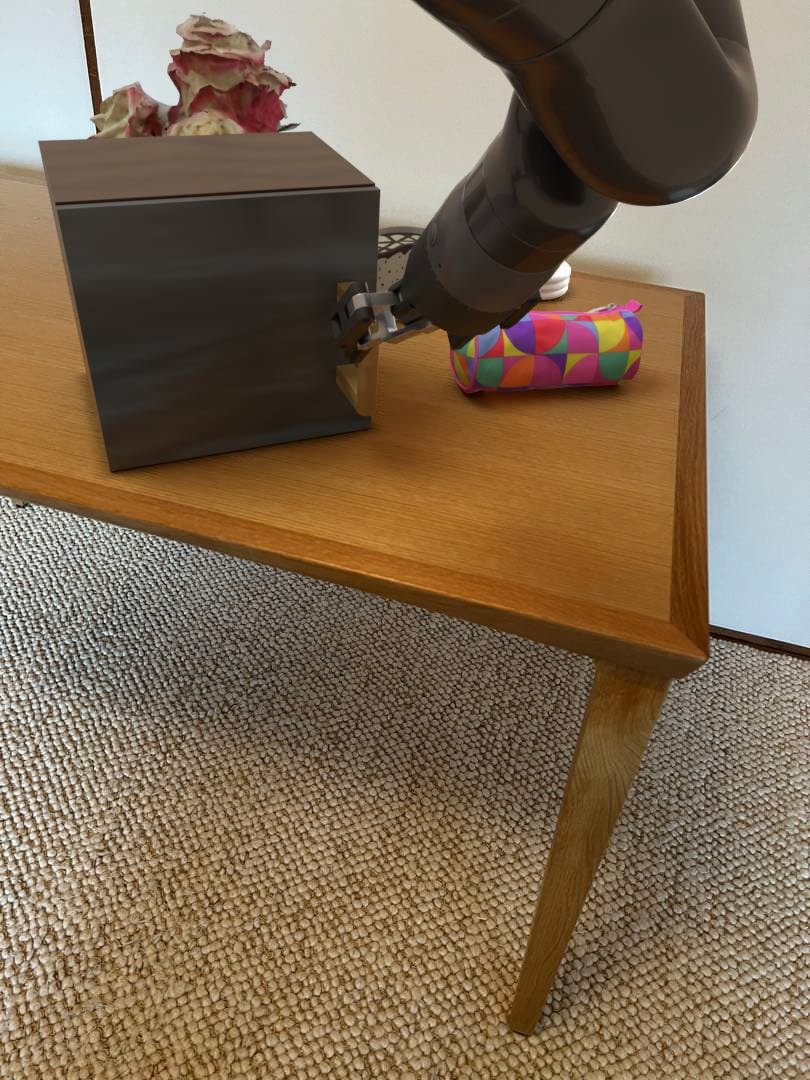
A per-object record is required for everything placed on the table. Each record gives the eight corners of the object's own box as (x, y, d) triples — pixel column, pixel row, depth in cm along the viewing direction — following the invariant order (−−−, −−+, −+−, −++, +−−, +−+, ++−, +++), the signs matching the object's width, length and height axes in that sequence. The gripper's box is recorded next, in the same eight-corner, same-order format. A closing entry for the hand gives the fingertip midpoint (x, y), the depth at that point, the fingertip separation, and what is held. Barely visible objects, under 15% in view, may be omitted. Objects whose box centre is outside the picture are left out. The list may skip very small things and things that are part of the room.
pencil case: (603, 356, 101) (620, 285, 95) (642, 393, 94) (663, 319, 88) (439, 372, 95) (446, 298, 89) (468, 412, 88) (477, 335, 82)
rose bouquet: (96, 238, 121) (53, -2, 102) (283, 221, 132) (276, 1, 113) (128, 306, 104) (83, 32, 85) (341, 281, 114) (344, 32, 95)
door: (396, 463, 79) (412, 215, 64) (120, 514, 71) (65, 241, 56) (367, 423, 85) (376, 186, 70) (108, 465, 76) (55, 205, 61)
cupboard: (366, 423, 85) (375, 183, 70) (108, 465, 76) (54, 202, 61) (314, 348, 98) (311, 131, 83) (87, 377, 89) (37, 140, 74)
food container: (410, 292, 113) (415, 218, 106) (439, 308, 109) (446, 232, 103) (338, 311, 106) (338, 234, 100) (366, 329, 103) (369, 250, 96)
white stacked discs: (533, 307, 111) (537, 282, 109) (483, 282, 117) (486, 258, 115) (581, 292, 117) (586, 268, 114) (531, 269, 122) (535, 246, 120)
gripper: (391, 323, 46) (327, 403, 61) (603, 298, 51) (494, 378, 66) (361, 197, 46) (305, 308, 62) (574, 183, 51) (473, 290, 66)
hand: (403, 344), depth 64 cm, fingers open, 8 cm apart
